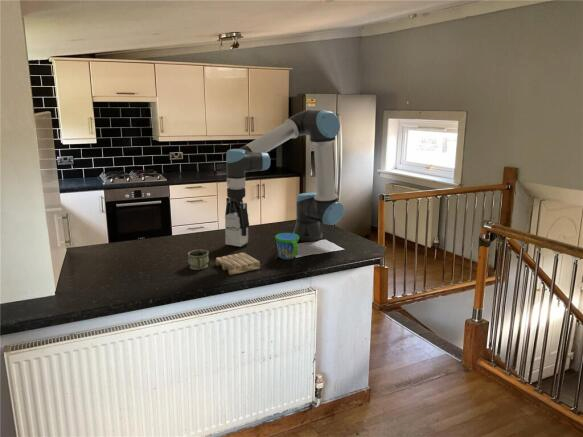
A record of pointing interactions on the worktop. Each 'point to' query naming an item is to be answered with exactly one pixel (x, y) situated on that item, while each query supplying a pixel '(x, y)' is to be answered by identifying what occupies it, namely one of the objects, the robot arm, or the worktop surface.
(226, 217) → the supplement box
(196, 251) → the vessel
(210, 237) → the worktop surface
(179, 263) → the worktop surface
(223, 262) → the pallet
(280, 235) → the snack cup
